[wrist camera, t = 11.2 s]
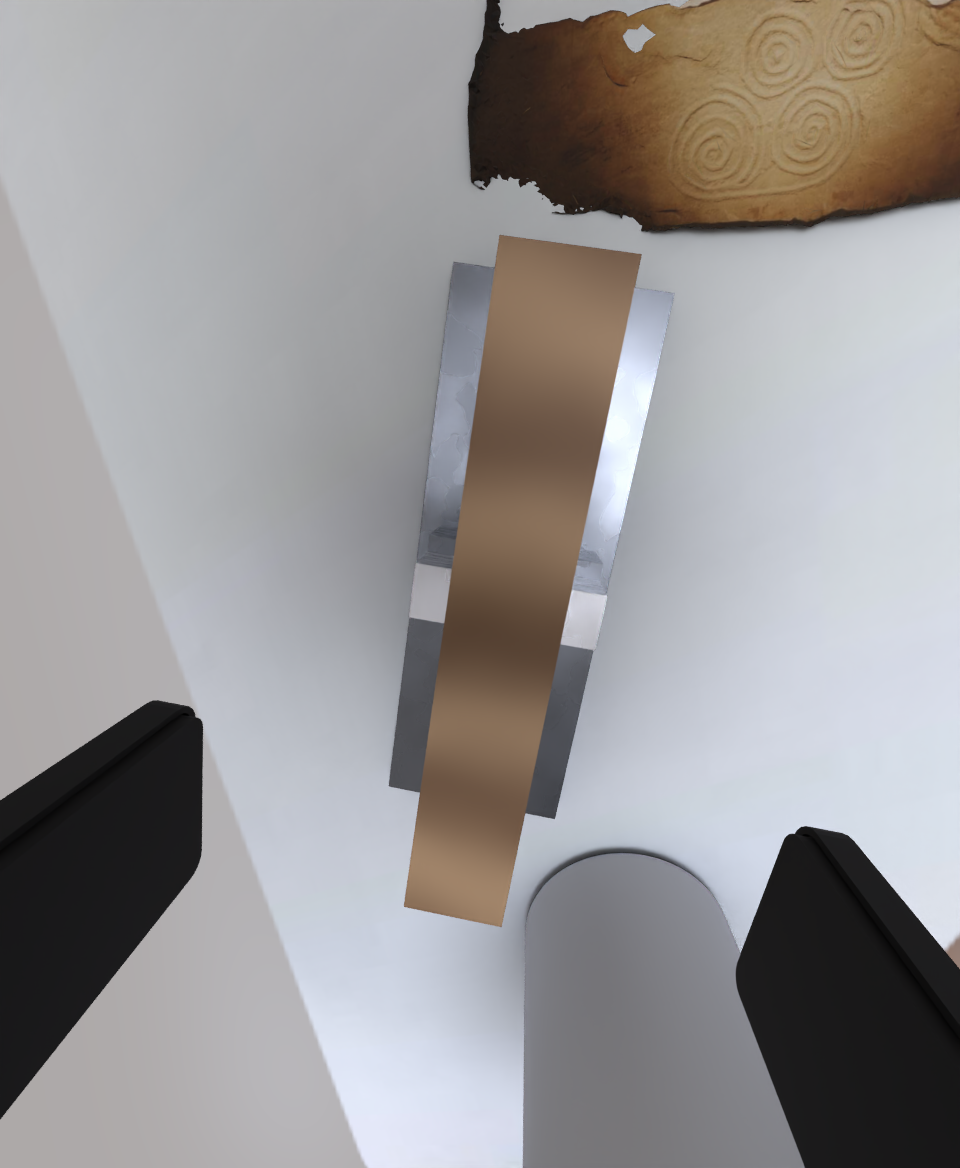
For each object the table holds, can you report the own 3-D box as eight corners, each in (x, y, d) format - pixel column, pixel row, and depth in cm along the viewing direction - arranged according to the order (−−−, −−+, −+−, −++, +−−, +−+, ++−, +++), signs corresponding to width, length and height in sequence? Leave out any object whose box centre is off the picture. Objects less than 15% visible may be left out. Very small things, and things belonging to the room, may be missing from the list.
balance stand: (457, 271, 24) (431, 205, 18) (667, 300, 24) (718, 244, 17) (393, 774, 32) (359, 856, 25) (554, 805, 31) (560, 898, 25)
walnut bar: (506, 280, 18) (499, 234, 14) (617, 296, 18) (641, 254, 14) (423, 835, 24) (403, 906, 21) (506, 851, 24) (501, 926, 20)
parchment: (1113, -72, 20) (1139, -96, 19) (1049, 220, 22) (1070, 210, 21) (470, -6, 22) (468, -25, 21) (472, 247, 24) (469, 239, 24)
